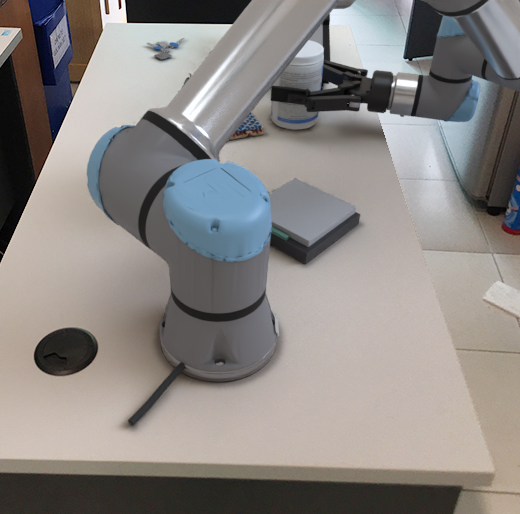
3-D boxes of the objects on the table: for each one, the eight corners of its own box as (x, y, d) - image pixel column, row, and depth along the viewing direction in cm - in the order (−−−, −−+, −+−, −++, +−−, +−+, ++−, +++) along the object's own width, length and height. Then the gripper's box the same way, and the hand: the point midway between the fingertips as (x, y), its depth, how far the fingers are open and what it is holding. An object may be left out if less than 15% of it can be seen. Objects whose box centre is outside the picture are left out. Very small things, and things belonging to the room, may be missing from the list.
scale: (305, 264, 94) (307, 247, 92) (236, 226, 101) (236, 209, 99) (358, 224, 101) (361, 207, 99) (290, 191, 108) (292, 175, 106)
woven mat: (214, 144, 120) (214, 134, 119) (198, 119, 128) (198, 110, 127) (265, 136, 123) (266, 126, 122) (247, 112, 130) (247, 103, 129)
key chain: (169, 61, 149) (168, 58, 149) (136, 58, 151) (136, 54, 150) (185, 40, 159) (185, 36, 159) (154, 37, 161) (153, 34, 160)
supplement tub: (327, 123, 127) (336, 50, 117) (289, 136, 123) (296, 61, 113) (296, 105, 133) (303, 34, 123) (260, 117, 129) (263, 44, 119)
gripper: (382, 140, 113) (263, 125, 117) (391, 86, 130) (287, 74, 134) (390, 101, 108) (265, 86, 112) (398, 49, 125) (290, 39, 129)
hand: (277, 80), depth 123 cm, fingers open, 11 cm apart
